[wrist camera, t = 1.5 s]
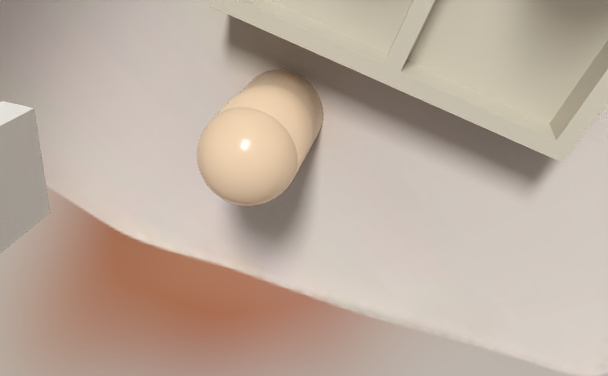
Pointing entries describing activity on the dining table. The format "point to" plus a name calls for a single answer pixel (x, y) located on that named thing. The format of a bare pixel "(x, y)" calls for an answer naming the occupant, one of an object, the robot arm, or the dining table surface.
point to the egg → (260, 138)
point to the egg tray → (464, 56)
